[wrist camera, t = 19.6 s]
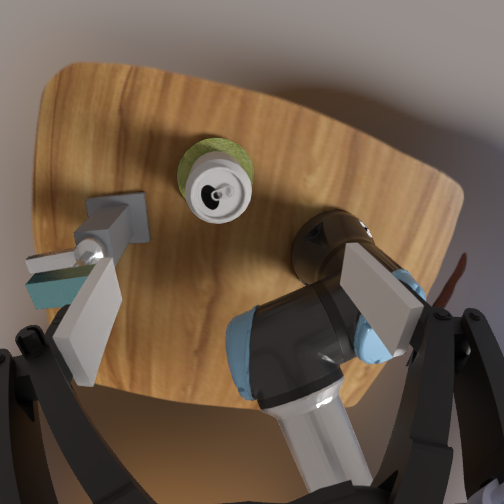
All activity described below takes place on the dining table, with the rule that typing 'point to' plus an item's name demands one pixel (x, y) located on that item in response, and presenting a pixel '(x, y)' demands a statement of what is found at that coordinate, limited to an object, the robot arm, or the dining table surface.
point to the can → (217, 188)
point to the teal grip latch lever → (62, 272)
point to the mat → (212, 146)
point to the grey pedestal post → (116, 222)
